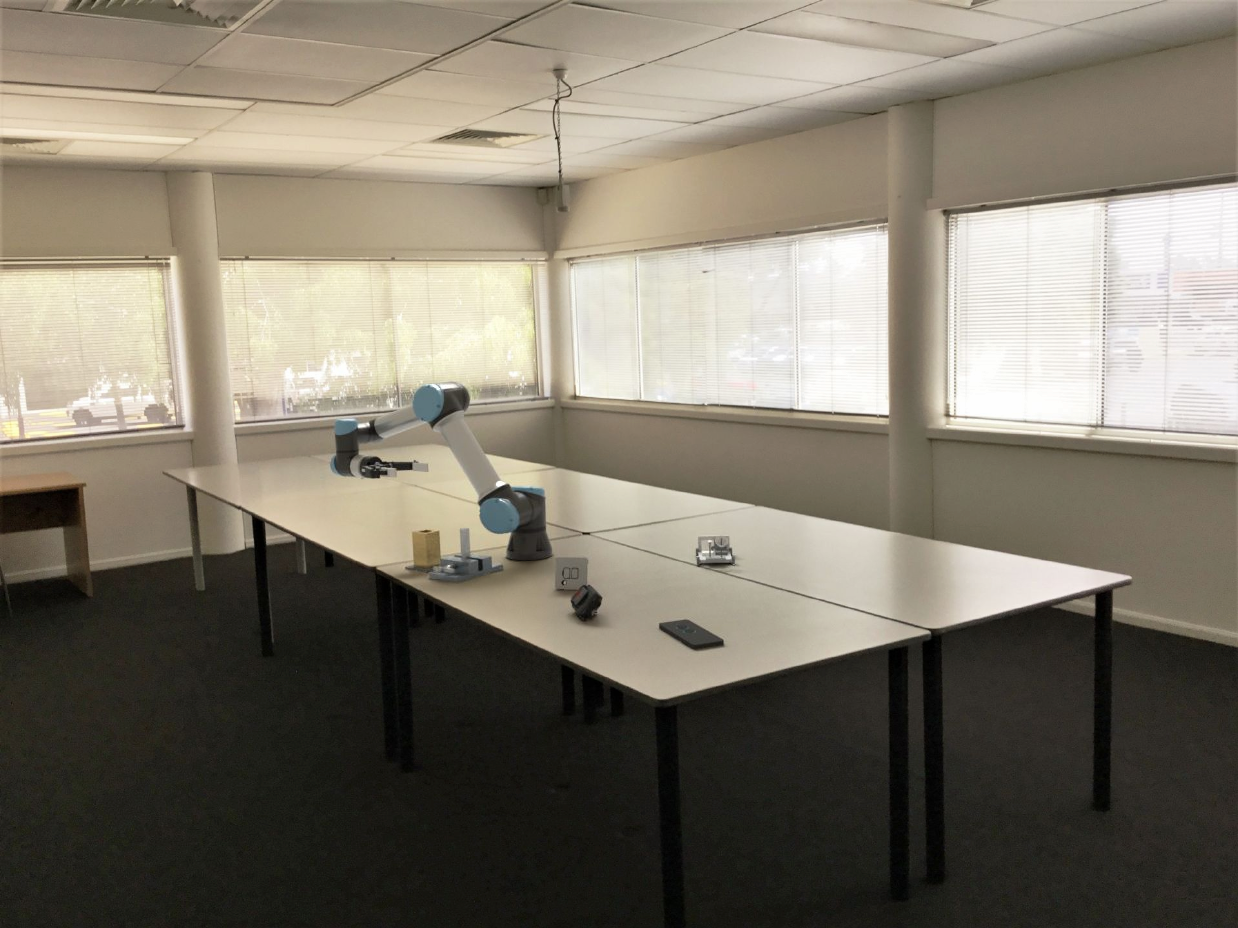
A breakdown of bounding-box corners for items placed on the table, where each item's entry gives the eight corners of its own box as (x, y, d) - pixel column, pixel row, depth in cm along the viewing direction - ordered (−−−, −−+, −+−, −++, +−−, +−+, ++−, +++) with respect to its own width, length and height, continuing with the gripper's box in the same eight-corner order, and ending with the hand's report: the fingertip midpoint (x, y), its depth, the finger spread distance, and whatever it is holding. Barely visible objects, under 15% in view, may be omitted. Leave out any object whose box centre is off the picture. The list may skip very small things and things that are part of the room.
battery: (586, 614, 274) (565, 601, 272) (604, 589, 274) (583, 576, 271) (594, 631, 263) (572, 617, 261) (613, 605, 262) (591, 591, 260)
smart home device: (687, 618, 257) (725, 639, 239) (687, 625, 257) (725, 646, 239) (657, 622, 254) (693, 644, 236) (657, 629, 254) (693, 651, 236)
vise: (475, 564, 329) (473, 521, 328) (503, 569, 322) (501, 524, 321) (429, 578, 313) (426, 532, 312) (457, 582, 306) (455, 536, 305)
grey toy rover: (734, 536, 314) (696, 537, 315) (735, 568, 316) (697, 569, 316) (731, 525, 332) (695, 526, 333) (731, 555, 334) (695, 556, 334)
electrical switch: (554, 590, 294) (554, 557, 294) (559, 587, 299) (559, 555, 299) (586, 591, 292) (586, 558, 292) (590, 588, 298) (590, 556, 297)
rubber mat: (428, 562, 335) (428, 560, 335) (450, 565, 329) (450, 564, 329) (405, 568, 327) (404, 566, 327) (427, 572, 321) (427, 570, 321)
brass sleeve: (427, 562, 332) (426, 528, 331) (441, 564, 328) (439, 530, 327) (413, 566, 327) (411, 532, 326) (427, 568, 324) (425, 533, 322)
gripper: (396, 473, 355) (440, 476, 343) (338, 483, 335) (382, 487, 323) (395, 451, 354) (439, 454, 342) (336, 460, 334) (381, 463, 322)
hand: (411, 470), depth 332 cm, fingers open, 13 cm apart
